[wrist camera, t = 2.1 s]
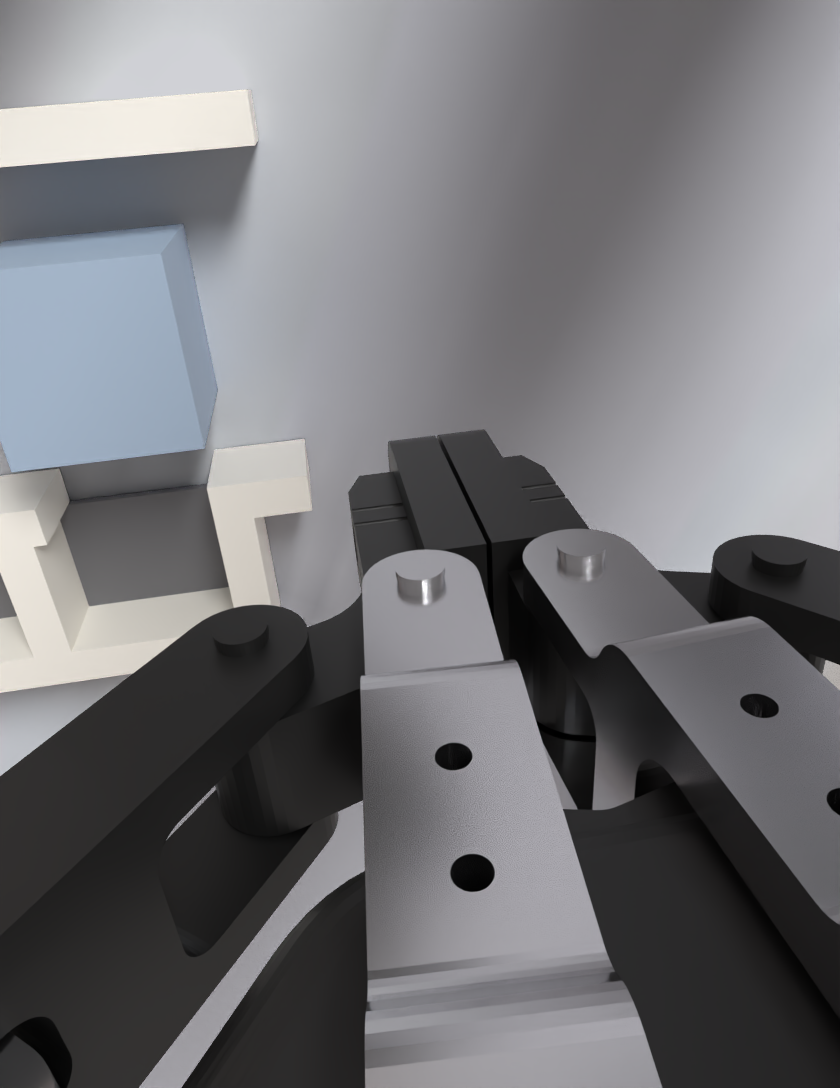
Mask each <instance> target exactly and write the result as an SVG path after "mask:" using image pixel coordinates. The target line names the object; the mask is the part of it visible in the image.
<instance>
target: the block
mask: <svg viewBox="0 0 840 1088" xmlns="http://www.w3.org/2000/svg"><path fill="white" fill-rule="evenodd" d="M217 391H218V388H217V384H216V379H215V374H214V369H213V364H212V359H211V355H210V350H209V345H208V340H207V335H206V330H205V325H204V321H203V316H202V311H201V306H200V301H199V296H198V292H197V287H196V282H195V277H194V272H193V267H192V263H191V258H190V253H189V248H188V243H187V238H186V234H185V229H184V224H175V225H165V226H154V227H144V228H134V229H123V230H113V231H103V232H92V233H82V234H72V235H61V236H51V237H41V238H30V239H20V240H10V241H4V242H2V243H0V442H1V444H2V447H3V450H4V453H5V455H6V458H7V461H8V464H9V467H10V469H11V472H19V471H27V470H35V469H43V468H51V467H60V466H68V465H76V464H84V463H92V462H100V461H109V460H117V459H125V458H133V457H141V456H149V455H158V454H166V453H174V452H182V451H190V450H198V449H205V445H206V440H207V436H208V431H209V427H210V422H211V418H212V413H213V409H214V404H215V400H216V395H217Z"/></svg>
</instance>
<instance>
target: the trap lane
mask: <svg viewBox="0 0 840 1088" xmlns="http://www.w3.org/2000/svg"><path fill="white" fill-rule="evenodd" d="M258 140H259V138H258V132H257V125H256V119H255V112H254V106H253V99H252V93H251V90H235V91H223V92H210V93H197V94H185V95H172V96H160V97H147V98H135V99H122V100H110V101H97V102H84V103H72V104H59V105H47V106H34V107H22V108H9V109H0V167H11V166H22V165H34V164H46V163H57V162H69V161H80V160H92V159H104V158H115V157H127V156H138V155H150V154H162V153H173V152H185V151H196V150H208V149H219V148H231V147H243V146H254V145H256V143H257V141H258ZM305 511H312V502H311V487H310V473H309V465H308V459H307V452H306V446H305V439H297V440H289V441H281V442H273V443H264V444H256V445H248V446H240V447H232V448H223V449H215V450H214V453H213V458H212V463H211V468H210V474H209V479H208V484H202V485H195V486H187V487H179V488H171V489H163V490H155V491H147V492H139V493H131V494H123V495H115V496H107V497H99V498H91V499H83V500H75V501H70V500H69V497H68V493H67V490H66V487H65V484H64V481H63V478H62V475H61V472H60V469H50V470H42V471H34V472H26V473H17V474H9V475H1V476H0V693H2V692H9V691H16V690H23V689H30V688H37V687H44V686H50V685H57V684H64V683H71V682H78V681H85V680H91V679H98V678H105V677H112V676H119V675H126V674H133V673H134V672H136V671H137V670H138V669H140V668H141V667H142V666H143V665H145V664H146V663H147V662H149V661H150V660H151V659H153V658H154V657H155V656H156V655H158V654H159V653H160V652H162V651H163V650H164V649H165V648H167V647H168V646H169V645H171V644H172V643H173V642H174V641H176V640H177V639H178V638H180V637H181V636H182V635H184V634H185V633H186V632H187V631H189V630H190V629H191V628H193V627H194V626H195V625H197V624H198V623H200V622H201V621H203V620H204V619H206V618H208V617H210V616H212V615H214V614H217V613H219V612H222V611H225V610H228V609H231V608H236V607H241V606H247V605H274V606H279V607H281V603H280V598H279V592H278V587H277V582H276V577H275V571H274V566H273V561H272V556H271V550H270V545H269V540H268V535H267V529H266V524H265V519H264V517H266V516H274V515H282V514H289V513H297V512H305Z"/></svg>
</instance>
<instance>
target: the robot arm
mask: <svg viewBox="0 0 840 1088" xmlns="http://www.w3.org/2000/svg"><path fill="white" fill-rule="evenodd" d="M388 457H389V468H390V472H388V473H380V474H372V475H364V476H359V477H358V479H357V480H356V482H355V483H354V485H353V486H352V488H351V489H350V491H349V492H348V494H349V502H350V510H351V518H352V526H353V534H354V542H355V550H356V558H357V566H358V574H359V581H360V587H361V595H360V596H359V598H358V599H357V600H356V601H355V603H353V604H352V605H351V606H350V607H349V608H348V609H346V610H345V611H343V612H342V613H340V614H339V615H337V616H335V617H333V618H331V619H328V620H326V621H324V622H321V623H318V624H316V625H313V626H310V627H307V626H306V623H305V622H304V620H303V619H302V618H301V617H300V616H299V615H298V614H296V613H294V612H293V611H291V610H289V609H286V608H283V607H279V606H274V605H247V606H241V607H236V608H231V609H228V610H225V611H222V612H219V613H217V614H214V615H212V616H210V617H208V618H206V619H204V620H203V621H201V622H200V623H198V624H197V625H195V626H194V627H193V628H191V629H190V630H189V631H187V632H186V633H185V634H184V635H182V636H181V637H180V638H178V639H177V640H176V641H174V642H173V643H172V644H171V645H169V646H168V647H167V648H165V649H164V650H163V651H162V652H160V653H159V654H158V655H156V656H155V657H154V658H153V659H151V660H150V661H149V662H147V663H146V664H145V665H143V666H142V667H141V668H140V669H138V670H137V671H136V672H134V673H133V674H132V675H131V676H129V677H128V678H127V679H125V680H124V681H123V682H122V683H120V684H119V685H118V686H116V687H115V688H114V689H112V690H111V691H110V692H109V693H107V694H106V695H105V696H103V697H102V698H101V699H100V700H98V701H97V702H96V703H94V704H93V705H92V706H91V707H89V708H88V709H87V710H85V711H84V712H83V713H81V714H80V715H79V716H78V717H76V718H75V719H74V720H72V721H71V722H70V723H69V724H67V725H66V726H65V727H63V728H62V729H61V730H60V731H58V732H57V733H56V734H54V735H53V736H52V737H50V738H49V739H48V740H47V741H45V742H44V743H43V744H41V745H40V746H39V747H38V748H36V749H35V750H34V751H32V752H31V753H30V754H29V755H27V756H26V757H25V758H23V759H22V760H21V761H20V762H18V763H17V764H16V765H14V766H13V767H12V768H10V769H9V770H8V771H7V772H5V773H4V774H3V775H1V776H0V1088H139V1086H140V1085H141V1084H142V1082H143V1081H144V1080H145V1079H146V1077H147V1076H148V1075H149V1073H150V1072H151V1071H152V1069H153V1068H154V1067H155V1066H156V1064H157V1063H158V1062H159V1060H160V1059H161V1058H162V1057H163V1055H164V1054H165V1053H166V1051H167V1050H168V1049H169V1047H170V1046H171V1045H172V1044H173V1042H174V1041H175V1040H176V1038H177V1037H178V1036H179V1034H180V1033H181V1032H182V1031H183V1029H184V1028H185V1027H186V1025H187V1024H188V1023H189V1022H190V1020H191V1019H192V1018H193V1016H194V1015H195V1014H196V1012H197V1011H198V1010H199V1009H200V1007H201V1006H202V1005H203V1003H204V1002H205V1001H206V999H207V998H208V997H209V996H210V994H211V993H212V992H213V990H214V989H215V988H216V987H217V985H218V984H219V983H220V981H221V980H222V979H223V977H224V976H225V975H226V974H227V972H228V971H229V970H230V968H231V967H232V966H233V964H234V963H235V962H236V961H237V959H238V958H239V957H240V955H241V954H242V953H243V952H244V950H245V949H246V948H247V946H248V945H249V944H250V942H251V941H252V940H253V939H254V937H255V936H256V935H257V933H258V932H259V931H260V929H261V928H262V927H263V926H264V924H265V923H266V922H267V920H268V919H269V918H270V917H271V915H272V914H273V913H274V911H275V910H276V909H277V907H278V906H279V905H280V904H281V902H282V901H283V900H284V898H285V897H286V896H287V894H288V893H289V892H290V891H291V889H292V888H293V887H294V885H295V884H296V883H297V882H298V880H299V879H300V878H301V876H302V875H303V874H304V872H305V871H306V870H307V869H308V867H309V866H310V865H311V863H312V862H313V861H314V859H315V858H316V857H317V856H318V854H319V853H320V852H321V850H322V849H323V848H324V847H325V845H326V844H327V843H328V841H329V840H330V838H331V837H332V835H333V833H334V831H335V829H336V826H337V822H338V811H340V810H343V809H345V808H347V807H349V806H351V805H353V804H355V803H358V802H360V801H362V800H363V811H364V850H365V871H364V872H362V873H360V874H359V875H357V876H355V877H353V878H351V879H350V880H348V881H347V882H345V883H344V884H343V885H341V886H340V887H338V888H337V889H336V890H334V891H333V892H331V893H330V894H329V895H327V896H326V897H325V898H324V899H323V900H322V901H321V902H319V903H318V904H317V905H316V906H315V907H314V908H313V909H312V910H311V911H309V912H308V913H307V914H306V915H305V917H304V918H303V919H302V920H301V921H300V922H299V923H298V924H297V925H296V927H295V928H294V929H293V930H292V931H291V932H290V933H289V934H288V936H287V937H286V938H285V939H284V941H283V942H282V943H281V945H280V946H279V947H278V949H277V950H276V951H275V953H274V954H273V955H272V957H271V958H270V960H269V961H268V963H267V964H266V966H265V967H264V969H263V970H262V971H261V973H260V974H259V976H258V977H257V979H256V980H255V982H254V983H253V985H252V986H251V987H250V989H249V990H248V992H247V993H246V995H245V996H244V998H243V999H242V1001H241V1002H240V1004H239V1005H238V1006H237V1008H236V1009H235V1011H234V1012H233V1014H232V1015H231V1017H230V1018H229V1020H228V1021H227V1022H226V1024H225V1025H224V1027H223V1028H222V1030H221V1031H220V1033H219V1034H218V1036H217V1037H216V1039H215V1040H214V1041H213V1043H212V1044H211V1046H210V1047H209V1049H208V1050H207V1052H206V1053H205V1055H204V1056H203V1057H202V1059H201V1060H200V1062H199V1063H198V1065H197V1066H196V1068H195V1069H194V1071H193V1072H192V1073H191V1075H190V1076H189V1078H188V1079H187V1081H186V1082H185V1084H184V1085H183V1086H182V1088H840V690H838V689H837V688H836V687H835V686H834V685H833V684H832V683H831V682H830V681H829V680H828V679H827V678H825V677H824V676H823V675H822V673H823V669H824V665H825V660H828V661H831V662H834V663H836V664H839V665H840V551H837V550H833V549H830V548H826V547H823V546H819V545H816V544H812V543H809V542H805V541H802V540H798V539H794V538H789V537H783V536H775V535H750V536H743V537H738V538H735V539H731V540H729V541H727V542H725V543H723V544H722V545H720V546H719V547H718V548H717V549H716V551H715V553H714V555H713V562H712V569H711V573H699V572H675V571H661V570H657V569H656V568H655V567H654V566H653V565H652V564H651V563H650V562H649V561H648V560H647V559H646V558H645V557H644V556H643V555H642V554H641V553H640V552H639V551H638V550H637V549H636V548H635V547H634V546H633V545H632V544H631V543H630V542H628V541H626V540H625V539H623V538H621V537H619V536H616V535H614V534H610V533H607V532H603V531H598V530H591V529H589V528H588V526H587V525H586V524H585V522H584V521H583V519H582V518H581V517H580V515H579V514H578V513H577V511H576V510H575V509H574V507H573V506H572V504H571V503H570V502H569V500H568V499H567V498H565V495H564V493H563V492H562V491H561V489H560V488H559V487H558V485H557V486H556V484H555V481H554V480H553V478H552V477H551V476H550V474H549V473H548V472H547V470H546V469H545V467H543V466H541V465H539V464H537V463H535V462H533V461H531V460H529V459H528V458H526V457H524V456H522V455H520V456H512V457H505V458H503V457H502V456H501V454H500V453H499V451H498V450H497V448H496V446H495V445H494V443H493V442H492V440H491V439H490V437H489V435H488V434H487V432H486V431H485V430H476V431H468V432H460V433H452V434H444V435H438V436H437V438H436V437H435V436H428V437H420V438H412V439H404V440H396V441H389V442H388ZM214 786H215V787H216V790H215V791H214V792H213V793H212V794H211V795H210V796H209V797H208V798H207V799H206V800H205V801H204V802H203V803H202V804H201V806H200V807H199V808H198V809H197V810H196V811H195V812H194V813H193V814H192V815H191V816H190V817H189V818H188V819H187V820H186V821H185V822H184V823H183V824H182V825H181V826H180V827H179V828H178V829H177V830H176V831H175V832H174V833H173V834H172V835H171V836H170V837H169V838H168V836H169V834H170V833H171V831H172V830H173V828H174V827H175V826H176V825H177V823H178V822H179V821H180V820H181V819H182V818H183V817H184V816H185V815H186V814H187V813H188V812H189V811H190V810H191V809H192V808H193V807H194V806H195V805H196V804H197V803H198V802H199V801H200V800H201V799H202V798H203V797H204V796H205V795H206V794H207V793H208V792H209V791H210V790H211V789H212V788H213V787H214ZM167 838H168V839H167ZM166 839H167V840H166Z"/></svg>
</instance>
